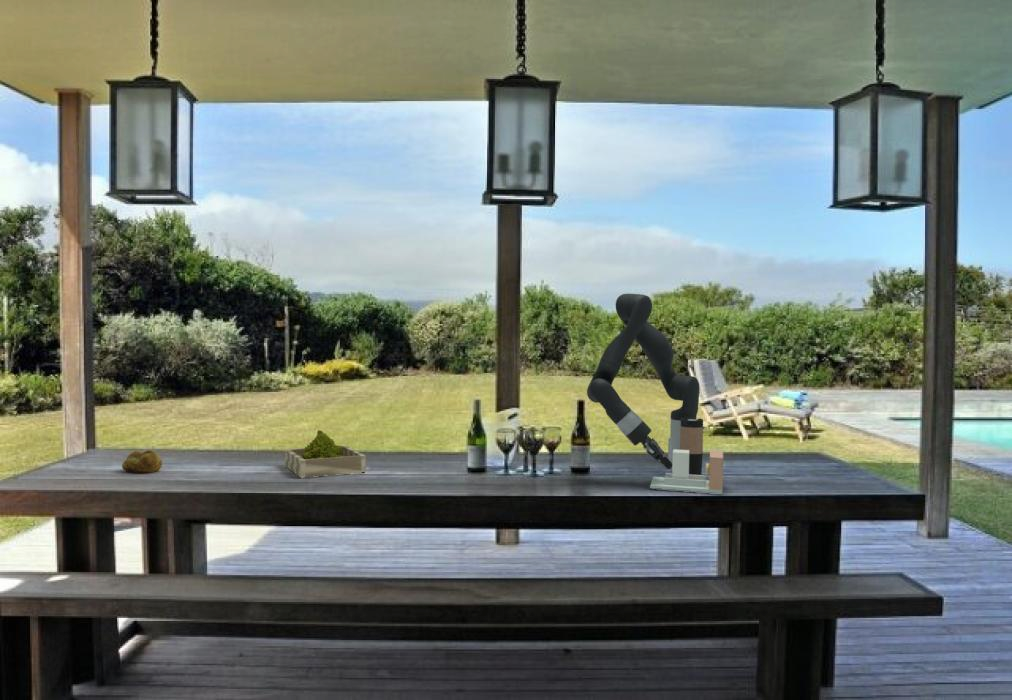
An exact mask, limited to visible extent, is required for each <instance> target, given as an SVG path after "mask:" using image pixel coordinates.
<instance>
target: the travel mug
mask: <svg viewBox="0 0 1012 700" xmlns="http://www.w3.org/2000/svg"><path fill="white" fill-rule="evenodd" d="M703 445H704V419H703V418H696V420H694V419H692V418H681V428H680V450H689V474H690V475H703V474H702V473H703V472H702V471H703V470H702V469H703V454H704V452H703V451H704V446H703Z"/></svg>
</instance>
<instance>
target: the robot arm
mask: <svg viewBox="0 0 1012 700" xmlns="http://www.w3.org/2000/svg"><path fill="white" fill-rule="evenodd" d="M615 310H616V313H617V315H618V318H619V319H620V320H621V322H622V323H623V325H625V326H624V328H623V329H622V331H621V332H620V333H619V334H617V336H616V337H614V338H613V339H612V340H611V341H610V342H609V344H608V345H607V346H606V347H605V349H604V351H603V354H602V355H601V358H600V360H599V363H598V366H597V367H596V371H595V372H594V375H593V376H592V378H591V380H590V382H589V383H588V387H587V389H586V395H587V398H588V399H589V400H590V401H591V402H593V403H596V404H597V403H599V404H600V406H602V408H603V409H604V411H605V414H606V415H607V417H608V418H610V420H611V422H613V423H614V424H615V425H616V426H617V428H618V430H619V431H620V432H621V433H622V434H623V435H624V436H625V437H626V438H627V439H628V440H629V442H630V443H631V444H633V445H634V446H637V445H638V444H640V443H641V445H642V446H643V447H642V448H643V450H644V451H645V452H646V453H647V454H649V456H651V457H652V458H653V459H655V460H656V461H657V462H660V463H661V464H662V465H663V467H665V468H666V469H667V470H670V469H671V468H672V459H673V450H674V449H677V450H680V428H681V418H692V419H694V420H697V414H698V413H699V412H698V411H699V404H700V403H699V401H700V382H699V380H698V378H697V377H696V376H693V375H692V376H691V375H679V374H678V373H676V371H675V370H674V368H673V366H672V364H673V361H674V354H675V353H674V350H673V347H672V345H671V344H670V341H669V339H668V338H667V337H666V336H665V334H664V333H662V331H660V330H659V329H657V327H655V326H653V325H652V324H651V323H649V322H648V320H649V318H650V316H651V314H652V310H653V302H652V299H651V298H650V296H648V295H646V294H640V293H639V294H638V293H622V294H621V295H619V296H617V298H616V301H615ZM635 340H636V342H637V344H638V345H639V346H640V348H641V350H642V351H643V353H644V354H645V356H646V358H647V359H648V360H649V362H650V363H651V365H652V367H653V368H654V370H655V372H656V373H657V376H658V377H659V379H660V381H661V384H662V386H663V388H664V390H665V392H666V394H667V395H668V397H669V398H670V399H672V400H675V401H681V402H682V404H681V405H682V406H680V407H679V408H677V409H673V410H671V412H670V424H669V425H670V426H669V427H670V430H669V431H670V432H669V433H670V435H669V438H668V441H667V443H668V444H667V446H668V448H667V455H666V454H665V451H664V450H663V449H662V448H661V446H660V445H659V443H658V442H657V441H656V440H655V438H651V437H650V436H649V435H650V433H651V432H652V428H651V427H649V426H648V424H646V422H645V421H644V420H643V419H642V418H641V417H640V416H639V414H637V413H636V412H635V411H633V410H632V409H631V407H629V405H627V404H626V402H625V401H624V400H623V399H622V398H621V397H620V395H619V394H618V392H617V391H616V390H615V388H614V387H613V385H612V384H613V383H614V380H615V378H616V376H618V373H619V372H620V369H621V367H622V365H623V363H624V361H625V358H626V356H627V354H628V352H629V350H630V349H631V347H632V345H633V343H634V342H635Z"/></svg>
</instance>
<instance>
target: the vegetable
mask: <svg viewBox="0 0 1012 700" xmlns="http://www.w3.org/2000/svg"><path fill="white" fill-rule="evenodd" d="M342 446H343V445H337V444H336V443H335V441H334V439H332V438H330V436H329V435H327V433H325V432H323V431H322V430H320V429H319V430H317V432H316V436H315V438H314V439H313V440H312V441H310V442H309V444H306V446H304V448H305V452H306V453H303V454H301V456H302V457H303V459H304V460H305V459H318V458H331V457H344V456H342V455H340V453H341V449H342Z"/></svg>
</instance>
